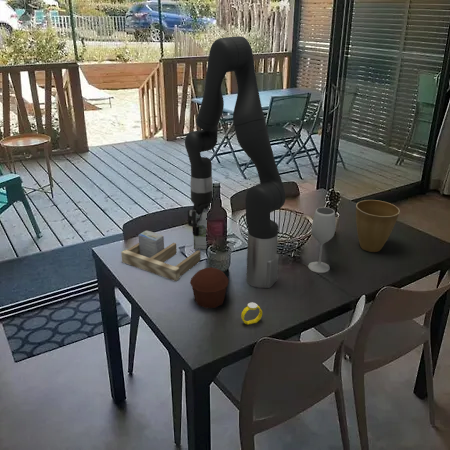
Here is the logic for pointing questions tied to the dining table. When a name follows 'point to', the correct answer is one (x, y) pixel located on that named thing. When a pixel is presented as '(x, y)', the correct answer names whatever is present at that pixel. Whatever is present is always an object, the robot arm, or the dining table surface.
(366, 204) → the plant pot
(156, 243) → the medicine box
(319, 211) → the wineglass
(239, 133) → the robot arm
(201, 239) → the syrup box
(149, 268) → the wooden tray
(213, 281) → the muffin
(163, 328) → the dining table surface
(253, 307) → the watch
